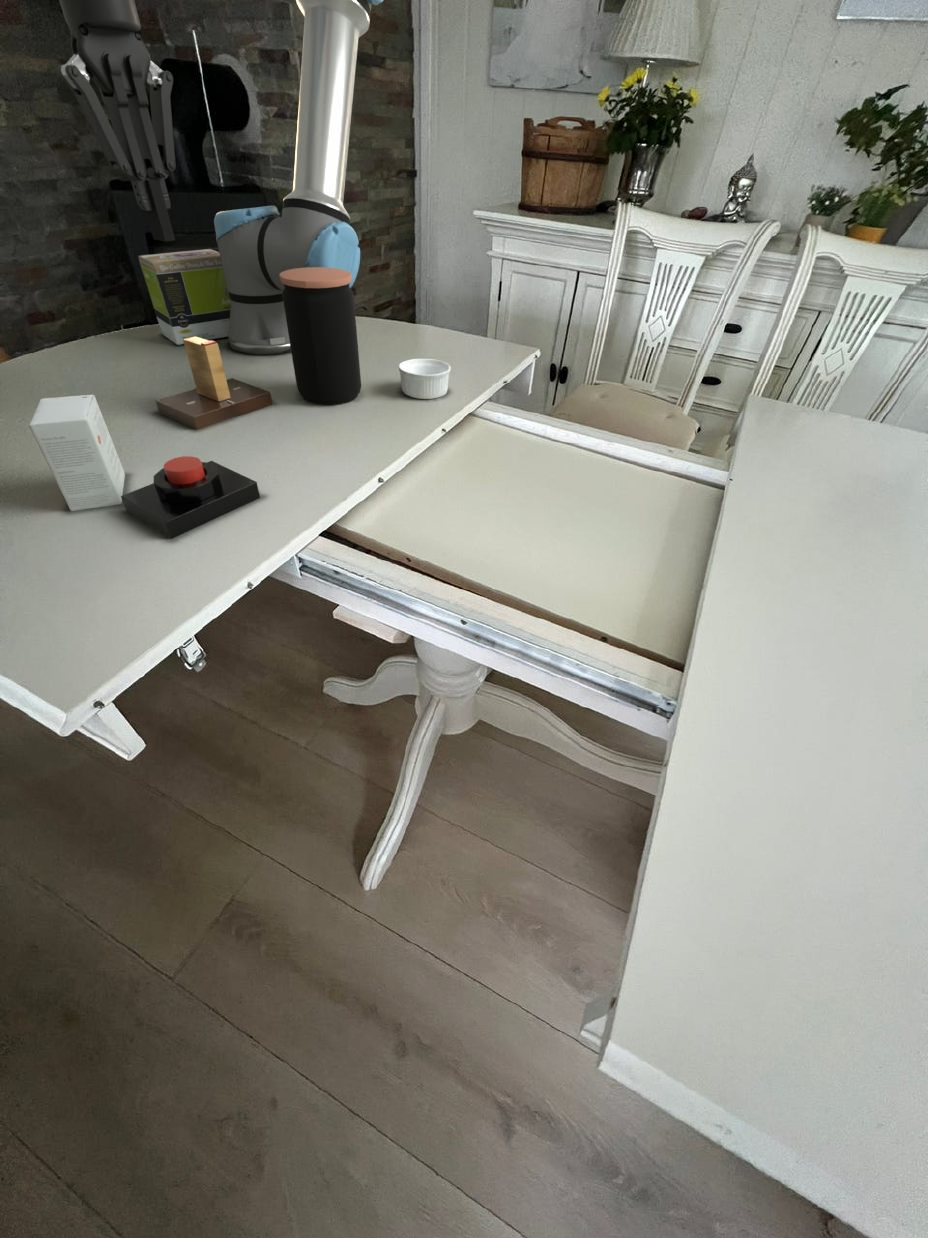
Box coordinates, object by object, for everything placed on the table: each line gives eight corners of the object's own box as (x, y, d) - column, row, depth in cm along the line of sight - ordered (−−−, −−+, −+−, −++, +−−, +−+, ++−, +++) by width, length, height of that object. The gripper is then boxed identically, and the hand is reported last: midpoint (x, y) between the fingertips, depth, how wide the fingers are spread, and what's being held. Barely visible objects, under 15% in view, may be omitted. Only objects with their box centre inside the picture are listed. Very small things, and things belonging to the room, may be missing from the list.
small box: (77, 481, 71) (39, 397, 65) (126, 475, 73) (94, 392, 66) (69, 512, 66) (26, 424, 59) (122, 505, 67) (86, 418, 61)
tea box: (230, 324, 128) (212, 247, 118) (248, 335, 122) (231, 254, 112) (160, 334, 120) (136, 252, 111) (176, 346, 114) (152, 261, 105)
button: (192, 466, 68) (187, 452, 67) (212, 476, 66) (208, 462, 65) (161, 478, 65) (156, 464, 64) (181, 489, 64) (176, 475, 62)
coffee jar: (368, 386, 100) (359, 268, 89) (353, 408, 92) (341, 282, 81) (309, 382, 101) (292, 265, 89) (289, 404, 93) (268, 278, 81)
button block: (215, 476, 74) (207, 446, 71) (260, 498, 70) (253, 468, 67) (127, 512, 66) (114, 481, 64) (171, 539, 62) (159, 507, 60)
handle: (197, 393, 90) (182, 337, 85) (209, 389, 91) (195, 334, 86) (218, 401, 88) (204, 344, 82) (230, 397, 89) (217, 341, 84)
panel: (234, 389, 97) (231, 376, 96) (272, 404, 93) (270, 390, 92) (159, 413, 89) (154, 399, 87) (197, 430, 84) (193, 415, 83)
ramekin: (440, 381, 104) (440, 356, 101) (457, 397, 98) (458, 371, 95) (393, 385, 101) (392, 360, 98) (408, 403, 95) (407, 376, 92)
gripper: (46, -36, 55) (135, 249, 71) (166, -16, 63) (222, 236, 79) (9, -30, 58) (102, 242, 74) (128, -12, 66) (189, 230, 82)
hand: (164, 239), depth 76 cm, fingers closed
